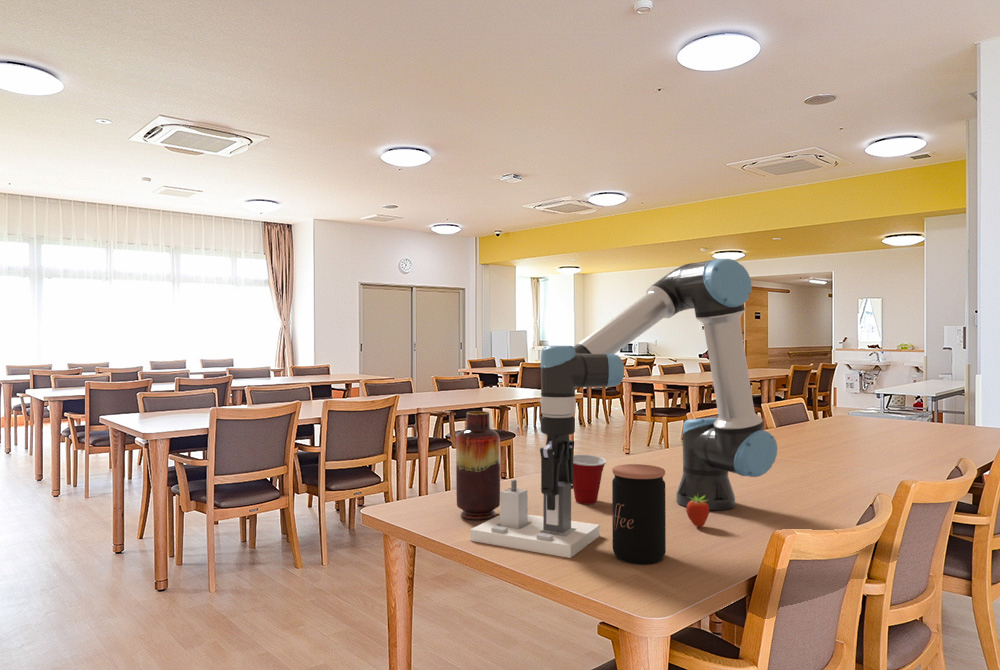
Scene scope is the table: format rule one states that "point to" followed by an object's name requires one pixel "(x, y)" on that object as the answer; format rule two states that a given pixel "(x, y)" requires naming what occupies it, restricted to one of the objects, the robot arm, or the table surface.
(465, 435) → the vase
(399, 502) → the table surface
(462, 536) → the table surface
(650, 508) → the coffee jar
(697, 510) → the fruit
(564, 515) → the dark grey block
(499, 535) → the white peg board
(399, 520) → the table surface
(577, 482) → the plastic cup
